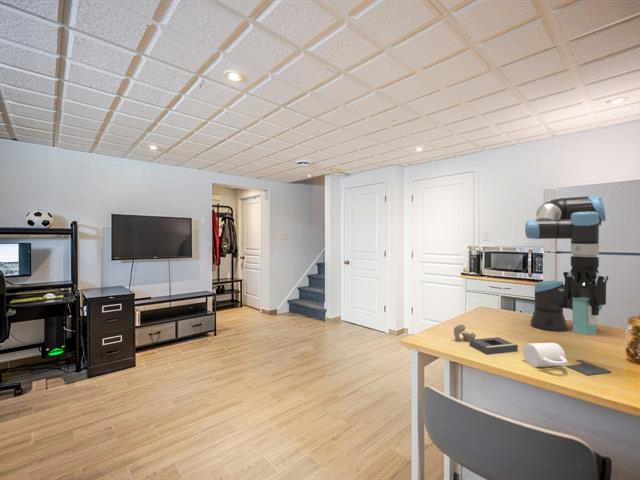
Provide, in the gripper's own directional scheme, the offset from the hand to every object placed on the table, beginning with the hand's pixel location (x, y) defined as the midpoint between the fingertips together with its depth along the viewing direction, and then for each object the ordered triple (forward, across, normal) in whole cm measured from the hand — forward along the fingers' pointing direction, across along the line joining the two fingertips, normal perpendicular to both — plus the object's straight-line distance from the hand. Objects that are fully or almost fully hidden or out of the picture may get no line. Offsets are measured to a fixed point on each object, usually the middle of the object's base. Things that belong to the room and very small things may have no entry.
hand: (584, 322), depth 108 cm
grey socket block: (+16, -22, -18) cm, 33 cm away
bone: (+17, -33, -23) cm, 44 cm away
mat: (+16, 0, 0) cm, 16 cm away
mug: (+17, -3, -12) cm, 21 cm away
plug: (+4, 0, 0) cm, 4 cm away
